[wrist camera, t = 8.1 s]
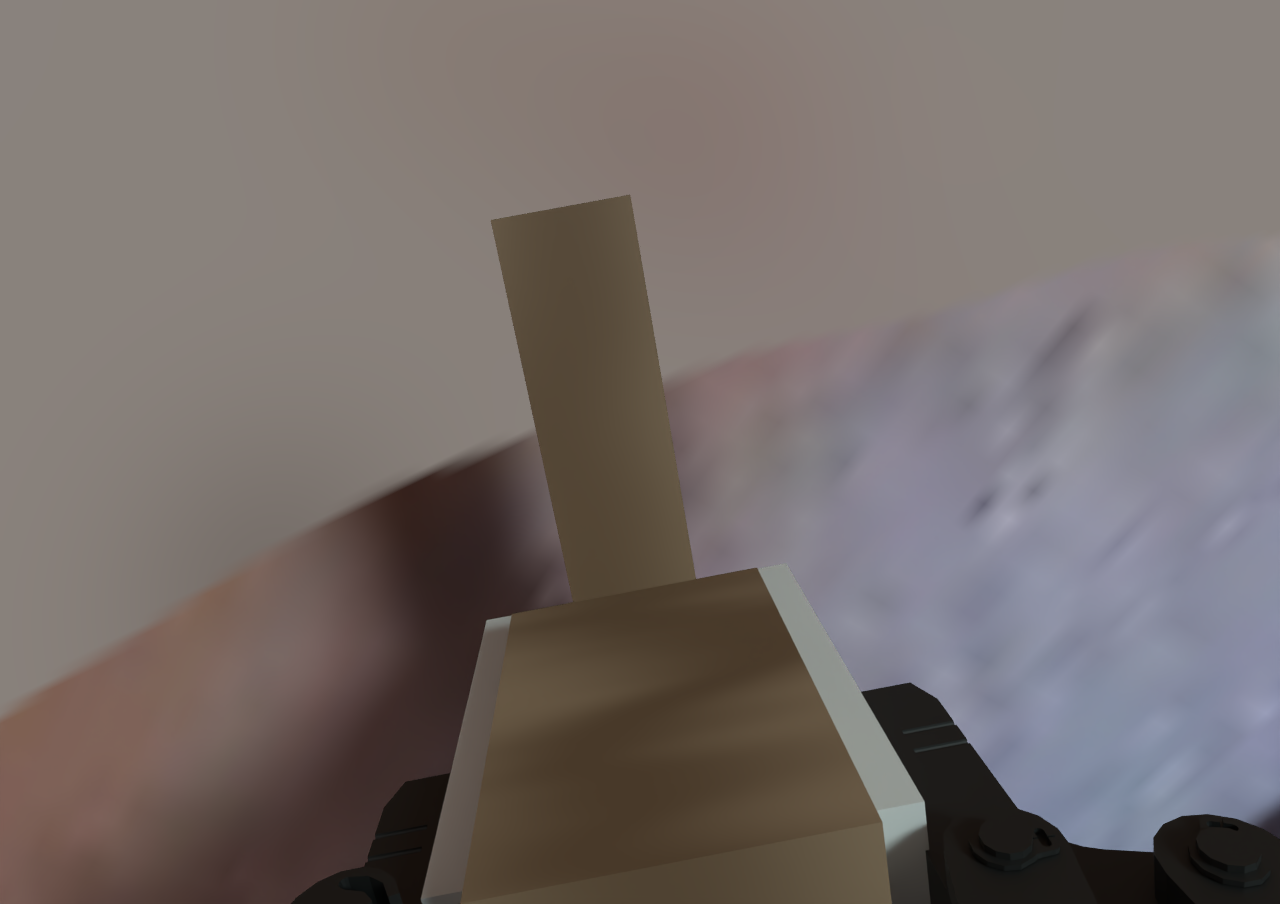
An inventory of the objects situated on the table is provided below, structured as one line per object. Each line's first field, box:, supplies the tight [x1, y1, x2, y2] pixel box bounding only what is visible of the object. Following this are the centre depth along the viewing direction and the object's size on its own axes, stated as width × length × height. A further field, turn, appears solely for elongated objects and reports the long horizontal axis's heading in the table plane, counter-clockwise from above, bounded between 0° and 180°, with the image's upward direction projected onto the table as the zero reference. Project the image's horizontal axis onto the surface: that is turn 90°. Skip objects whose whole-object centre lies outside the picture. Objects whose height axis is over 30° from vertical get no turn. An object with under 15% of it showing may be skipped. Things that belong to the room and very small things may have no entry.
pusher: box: [460, 195, 892, 904], centre depth 13 cm, size 4×16×9 cm, turn 10°
